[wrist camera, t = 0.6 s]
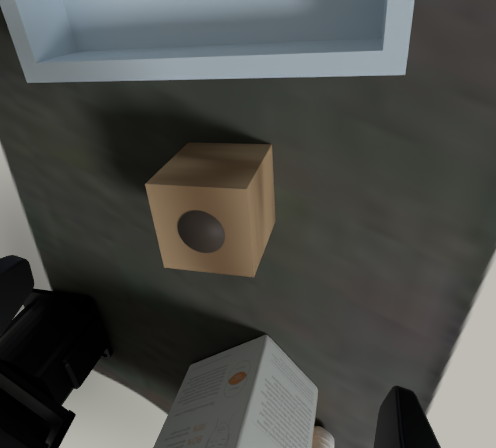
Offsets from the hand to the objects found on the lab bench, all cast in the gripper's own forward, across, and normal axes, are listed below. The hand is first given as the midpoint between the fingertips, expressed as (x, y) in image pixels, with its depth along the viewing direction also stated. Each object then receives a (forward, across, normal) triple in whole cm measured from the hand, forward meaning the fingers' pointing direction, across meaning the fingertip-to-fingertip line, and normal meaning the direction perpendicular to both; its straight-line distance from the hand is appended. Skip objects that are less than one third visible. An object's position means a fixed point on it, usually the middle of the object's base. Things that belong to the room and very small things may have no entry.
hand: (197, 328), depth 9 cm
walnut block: (+12, +3, +4) cm, 13 cm away
